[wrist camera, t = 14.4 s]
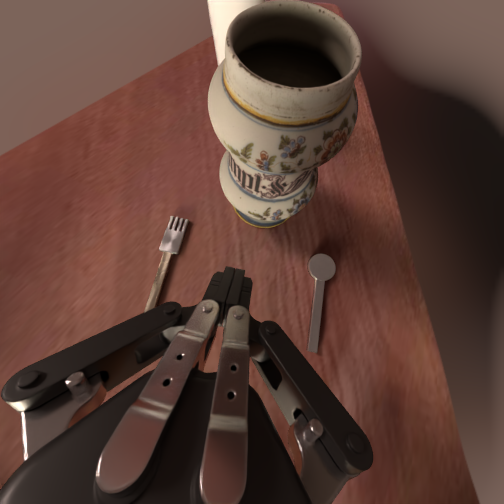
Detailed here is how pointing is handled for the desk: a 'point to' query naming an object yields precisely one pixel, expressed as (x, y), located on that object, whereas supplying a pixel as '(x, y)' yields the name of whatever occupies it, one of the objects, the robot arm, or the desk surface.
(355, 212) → the desk surface
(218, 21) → the drinking glass
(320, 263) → the spoon
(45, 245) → the desk surface
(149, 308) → the fork
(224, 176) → the apothecary jar
